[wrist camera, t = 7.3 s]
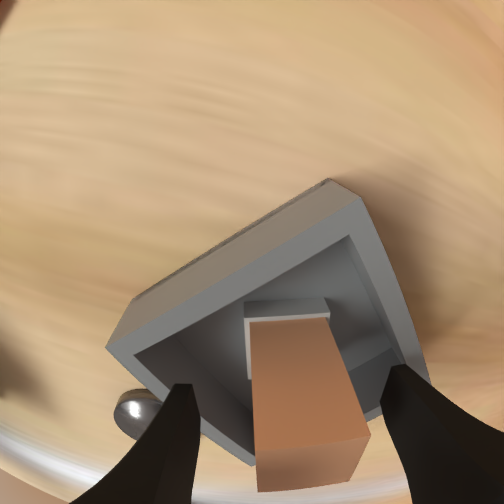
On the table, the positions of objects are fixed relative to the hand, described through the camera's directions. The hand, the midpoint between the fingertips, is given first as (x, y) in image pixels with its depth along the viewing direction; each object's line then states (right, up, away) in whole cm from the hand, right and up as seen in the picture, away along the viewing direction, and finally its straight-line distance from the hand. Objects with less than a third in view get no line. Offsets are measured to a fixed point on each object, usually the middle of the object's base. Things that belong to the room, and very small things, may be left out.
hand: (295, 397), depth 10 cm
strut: (0, +2, +3) cm, 4 cm away
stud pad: (-8, -5, +7) cm, 11 cm away
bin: (0, +2, +4) cm, 4 cm away
